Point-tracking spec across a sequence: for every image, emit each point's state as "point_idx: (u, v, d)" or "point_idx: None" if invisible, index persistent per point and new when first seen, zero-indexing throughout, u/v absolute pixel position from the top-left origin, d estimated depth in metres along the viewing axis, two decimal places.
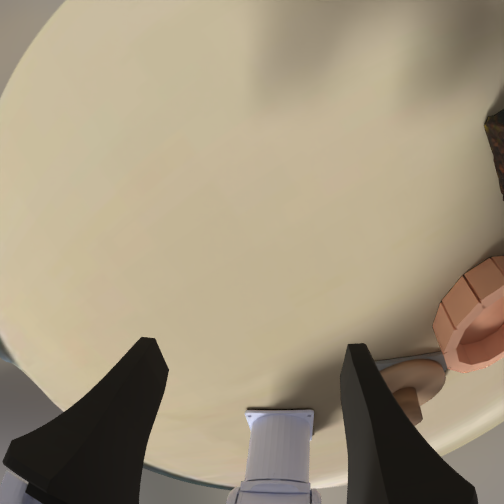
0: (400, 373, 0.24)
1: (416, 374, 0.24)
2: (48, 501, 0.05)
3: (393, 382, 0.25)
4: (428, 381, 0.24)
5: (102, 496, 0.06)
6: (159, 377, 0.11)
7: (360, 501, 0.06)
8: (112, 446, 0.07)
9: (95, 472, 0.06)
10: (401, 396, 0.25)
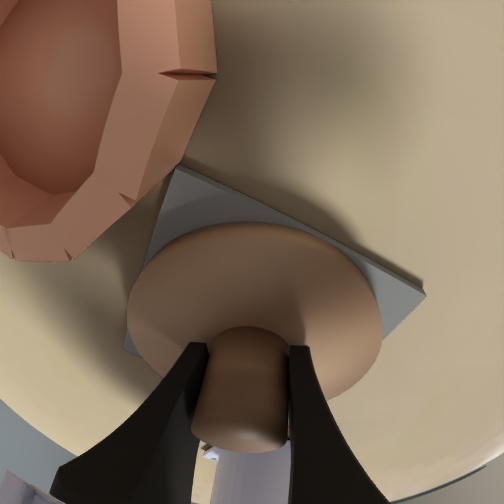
0: (136, 328, 0.11)
1: (164, 307, 0.10)
2: None
3: (169, 349, 0.12)
4: (230, 291, 0.09)
5: None
6: None
7: None
8: (171, 461, 0.07)
9: (158, 492, 0.05)
10: None
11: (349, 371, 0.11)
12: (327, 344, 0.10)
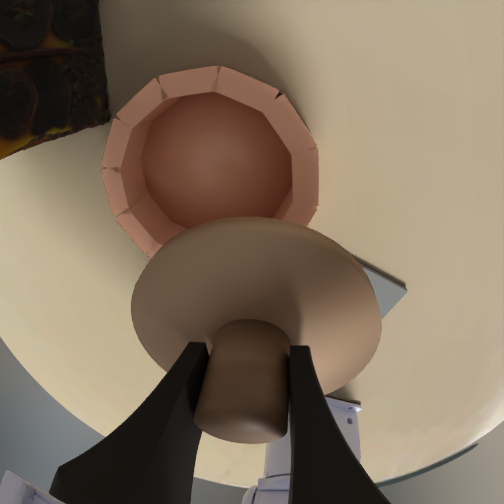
0: (141, 325, 0.12)
1: (167, 302, 0.11)
2: None
3: (173, 344, 0.12)
4: (229, 284, 0.10)
5: None
6: None
7: None
8: (171, 461, 0.07)
9: (158, 492, 0.05)
10: None
11: (350, 362, 0.11)
12: (327, 335, 0.11)
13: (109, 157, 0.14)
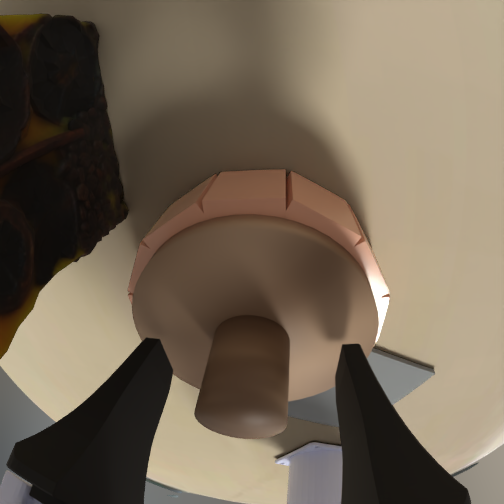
0: (142, 323, 0.12)
1: (167, 301, 0.11)
2: None
3: (174, 342, 0.12)
4: (227, 281, 0.10)
5: (108, 498, 0.06)
6: (164, 378, 0.11)
7: (353, 502, 0.06)
8: (117, 448, 0.07)
9: (101, 474, 0.06)
10: None
11: None
12: (325, 330, 0.11)
13: None
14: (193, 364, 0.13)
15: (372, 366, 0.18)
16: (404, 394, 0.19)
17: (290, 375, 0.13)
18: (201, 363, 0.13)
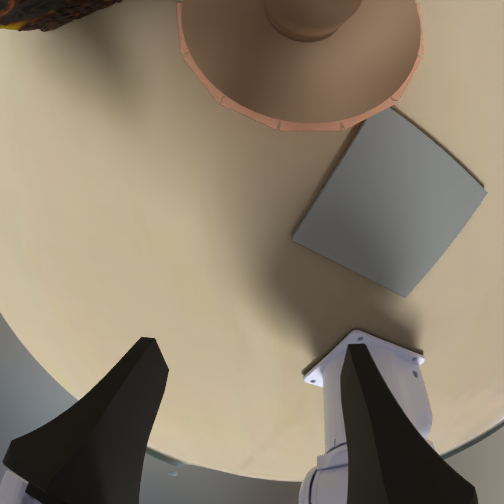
0: (191, 6, 0.09)
1: None
2: (48, 501, 0.05)
3: (221, 21, 0.09)
4: None
5: (102, 496, 0.06)
6: (159, 377, 0.11)
7: (360, 501, 0.06)
8: (112, 446, 0.07)
9: (95, 472, 0.06)
10: None
11: (402, 41, 0.09)
12: (371, 1, 0.08)
13: None
14: (236, 53, 0.10)
15: (423, 157, 0.15)
16: (460, 225, 0.17)
17: (347, 62, 0.10)
18: (246, 48, 0.10)
